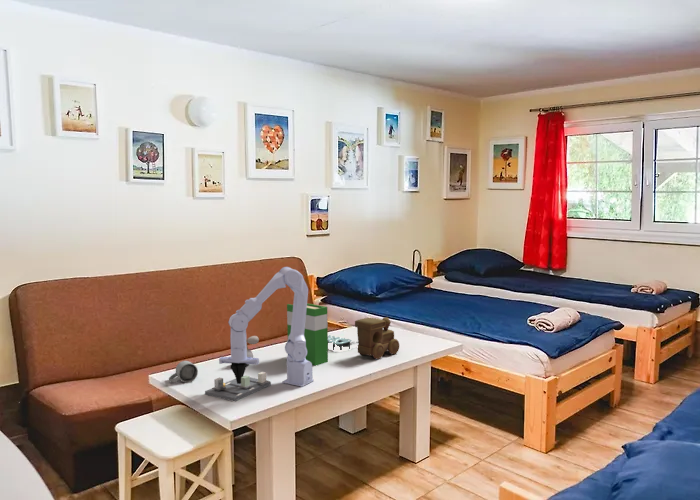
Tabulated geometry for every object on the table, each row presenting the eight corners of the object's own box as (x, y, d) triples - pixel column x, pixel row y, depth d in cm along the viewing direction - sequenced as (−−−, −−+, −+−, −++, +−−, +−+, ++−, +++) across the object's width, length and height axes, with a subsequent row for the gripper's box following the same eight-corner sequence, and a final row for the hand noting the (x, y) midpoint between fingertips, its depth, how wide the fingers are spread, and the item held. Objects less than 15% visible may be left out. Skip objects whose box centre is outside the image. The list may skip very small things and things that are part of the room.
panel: (270, 384, 210) (270, 378, 210) (234, 401, 193) (234, 395, 193) (242, 378, 217) (242, 373, 217) (205, 394, 200) (204, 388, 200)
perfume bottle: (231, 365, 235) (231, 337, 234) (250, 360, 242) (250, 333, 241) (242, 368, 230) (241, 340, 229) (261, 363, 237) (260, 335, 236)
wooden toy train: (372, 362, 238) (371, 324, 236) (353, 356, 246) (352, 320, 244) (402, 352, 252) (402, 316, 250) (383, 348, 260) (383, 313, 258)
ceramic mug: (192, 375, 222) (191, 357, 221) (198, 380, 215) (197, 362, 214) (166, 380, 216) (165, 361, 216) (171, 386, 210) (170, 366, 209)
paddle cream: (268, 382, 208) (268, 372, 207) (263, 384, 205) (263, 374, 205) (261, 380, 210) (261, 371, 209) (255, 383, 207) (255, 373, 207)
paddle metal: (225, 388, 201) (225, 378, 201) (219, 391, 199) (219, 380, 198) (218, 386, 203) (218, 376, 203) (212, 389, 200) (211, 379, 200)
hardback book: (287, 357, 245) (287, 304, 243) (300, 354, 251) (299, 301, 248) (315, 365, 233) (314, 309, 231) (327, 362, 238) (327, 307, 236)
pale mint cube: (252, 386, 203) (251, 376, 203) (246, 388, 201) (246, 378, 200) (244, 384, 205) (244, 374, 205) (238, 387, 203) (238, 377, 202)
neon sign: (380, 333, 273) (338, 345, 252) (380, 341, 273) (338, 354, 252) (349, 326, 287) (306, 337, 266) (349, 334, 288) (307, 346, 267)
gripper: (261, 344, 206) (261, 379, 207) (223, 343, 208) (224, 378, 209) (255, 349, 199) (256, 386, 200) (216, 348, 201) (217, 384, 202)
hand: (239, 382), depth 204 cm, fingers closed
